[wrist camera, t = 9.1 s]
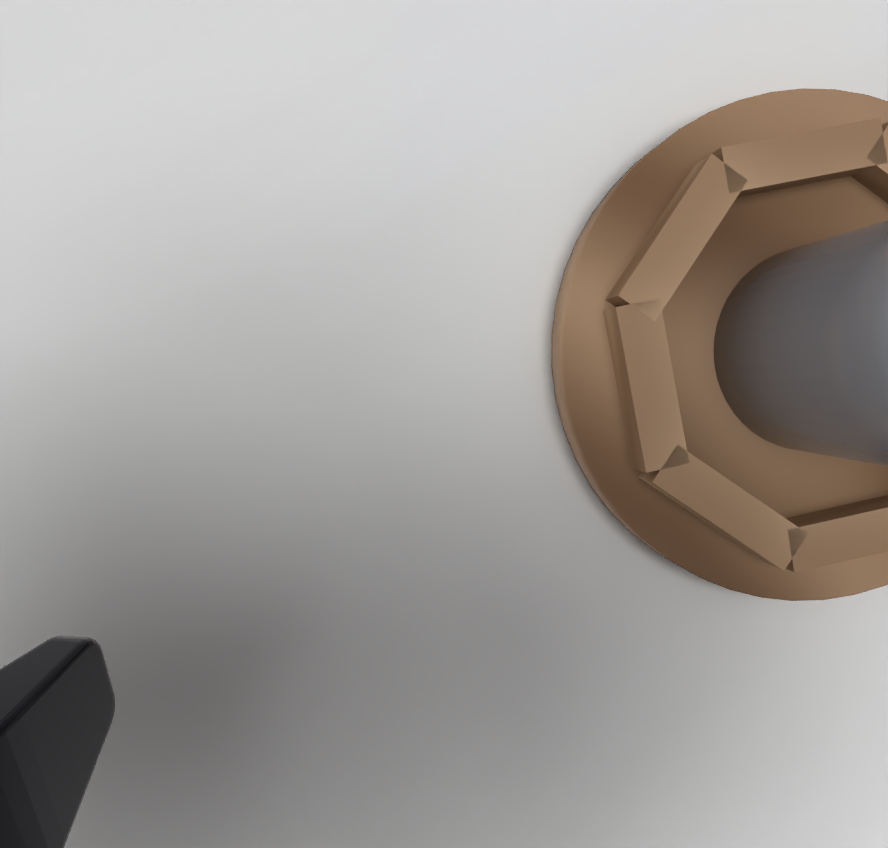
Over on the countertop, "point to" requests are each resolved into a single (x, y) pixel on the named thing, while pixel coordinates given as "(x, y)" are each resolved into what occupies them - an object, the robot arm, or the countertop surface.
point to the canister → (812, 347)
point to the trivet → (692, 346)
